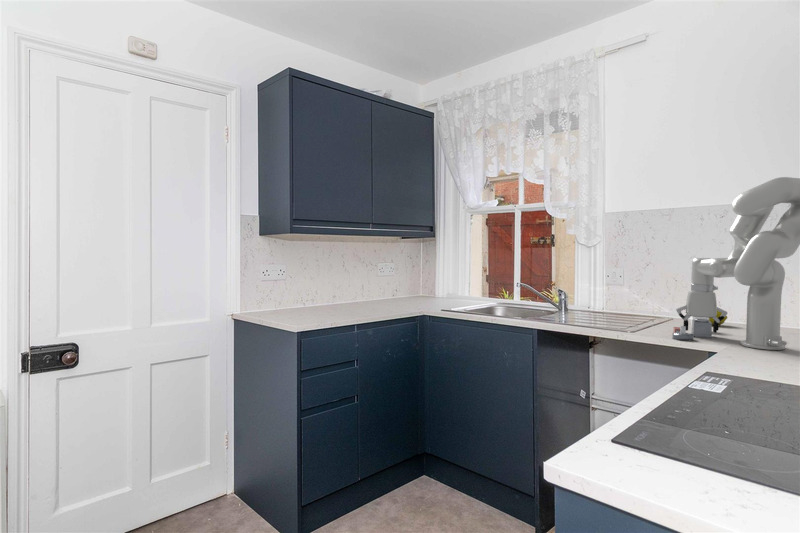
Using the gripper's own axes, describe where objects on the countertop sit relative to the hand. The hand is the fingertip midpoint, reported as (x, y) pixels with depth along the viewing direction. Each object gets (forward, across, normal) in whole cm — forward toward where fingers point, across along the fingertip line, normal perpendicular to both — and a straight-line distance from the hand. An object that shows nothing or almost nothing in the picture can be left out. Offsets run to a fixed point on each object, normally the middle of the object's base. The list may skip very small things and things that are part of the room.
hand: (700, 331), depth 185 cm
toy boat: (+2, +7, +4) cm, 9 cm away
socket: (+2, 0, 0) cm, 2 cm away
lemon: (+2, -9, -33) cm, 34 cm away
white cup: (+2, -2, -14) cm, 14 cm away
